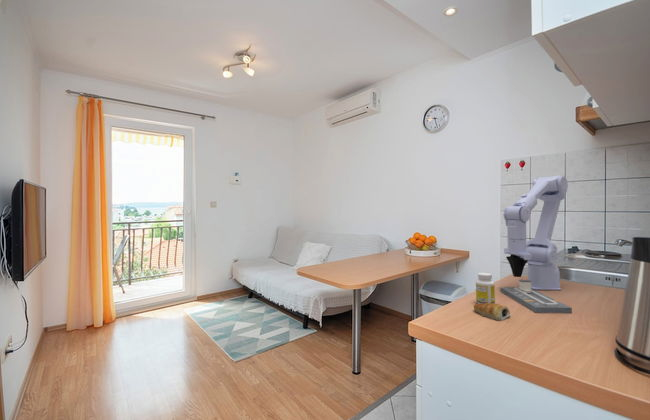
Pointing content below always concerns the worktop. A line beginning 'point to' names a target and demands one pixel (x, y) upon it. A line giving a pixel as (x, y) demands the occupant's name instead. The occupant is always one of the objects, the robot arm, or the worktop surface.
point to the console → (536, 301)
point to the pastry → (492, 310)
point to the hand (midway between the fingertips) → (517, 276)
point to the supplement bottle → (485, 288)
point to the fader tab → (525, 286)
